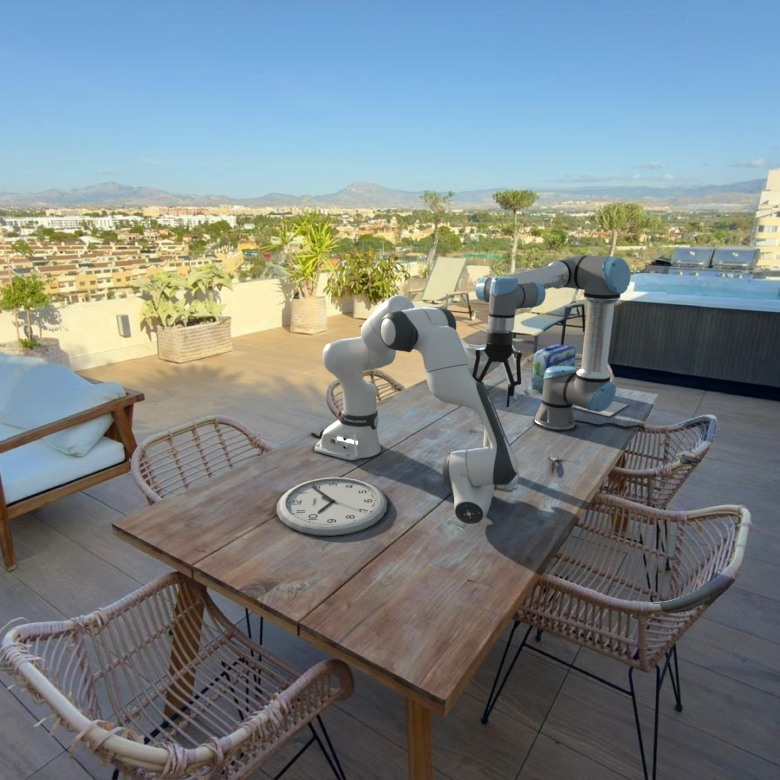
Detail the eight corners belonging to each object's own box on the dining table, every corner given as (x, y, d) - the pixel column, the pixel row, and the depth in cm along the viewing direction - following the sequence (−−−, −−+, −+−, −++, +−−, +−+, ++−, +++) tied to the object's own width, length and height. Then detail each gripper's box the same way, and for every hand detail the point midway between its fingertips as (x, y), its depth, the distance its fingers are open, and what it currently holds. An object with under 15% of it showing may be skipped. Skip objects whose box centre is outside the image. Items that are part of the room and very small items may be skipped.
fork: (547, 473, 163) (548, 467, 163) (550, 454, 177) (551, 448, 177) (556, 475, 162) (556, 469, 162) (558, 455, 177) (559, 449, 176)
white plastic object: (461, 429, 252) (437, 405, 227) (444, 352, 274) (420, 323, 250) (535, 404, 240) (518, 377, 215) (510, 326, 262) (492, 293, 237)
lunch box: (547, 397, 237) (552, 352, 231) (526, 391, 245) (531, 348, 238) (574, 386, 255) (580, 344, 249) (554, 381, 262) (559, 340, 256)
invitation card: (608, 416, 214) (573, 407, 224) (608, 416, 214) (573, 408, 224) (628, 404, 229) (594, 396, 238) (628, 405, 229) (594, 397, 238)
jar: (499, 468, 166) (503, 425, 162) (491, 473, 163) (495, 429, 158) (486, 464, 169) (489, 421, 165) (478, 469, 166) (482, 425, 161)
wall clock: (392, 527, 129) (268, 531, 127) (391, 533, 130) (269, 537, 127) (383, 473, 158) (282, 475, 155) (383, 478, 158) (282, 480, 156)
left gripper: (518, 480, 139) (522, 459, 152) (443, 469, 145) (452, 449, 157) (516, 501, 141) (520, 479, 154) (442, 489, 147) (451, 468, 159)
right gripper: (535, 330, 154) (527, 403, 161) (466, 326, 158) (462, 398, 165) (536, 335, 147) (528, 411, 154) (464, 331, 151) (460, 405, 158)
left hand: (485, 464), depth 156 cm, fingers open, 8 cm apart
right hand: (494, 404), depth 160 cm, fingers open, 7 cm apart
